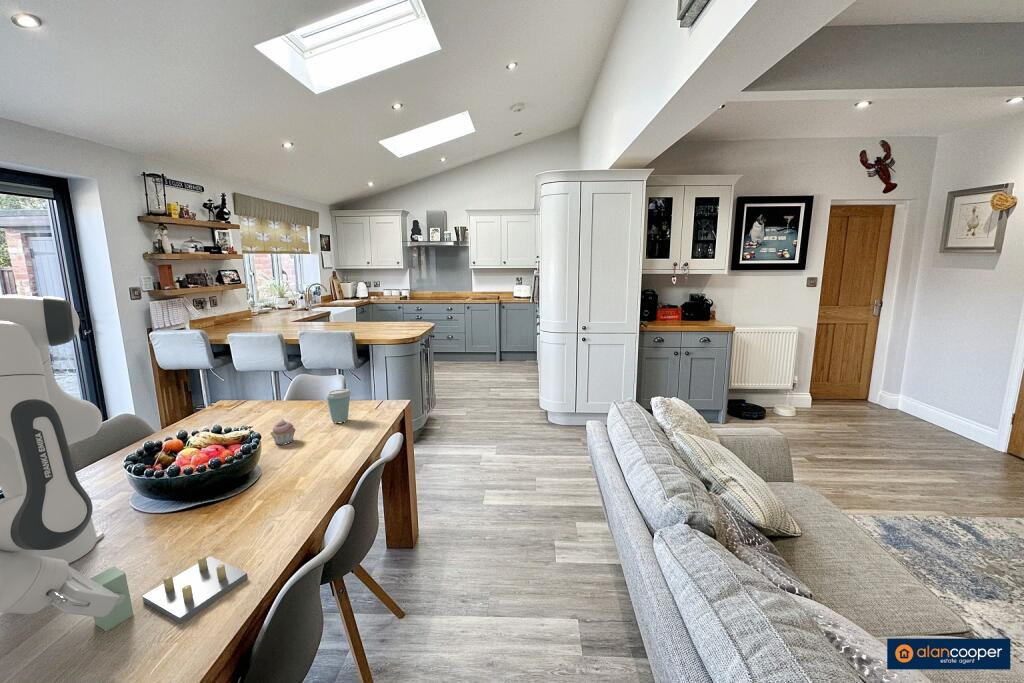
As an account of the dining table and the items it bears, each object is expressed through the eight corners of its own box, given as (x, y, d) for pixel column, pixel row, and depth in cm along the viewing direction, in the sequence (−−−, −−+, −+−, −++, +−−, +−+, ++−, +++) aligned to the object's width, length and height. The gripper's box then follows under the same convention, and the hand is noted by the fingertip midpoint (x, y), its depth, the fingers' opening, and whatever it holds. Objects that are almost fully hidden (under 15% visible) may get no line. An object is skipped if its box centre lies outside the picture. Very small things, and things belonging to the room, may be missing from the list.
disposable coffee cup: (323, 422, 197) (320, 391, 194) (344, 415, 206) (341, 385, 203) (337, 427, 191) (334, 395, 188) (357, 420, 200) (355, 389, 197)
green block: (95, 623, 87) (85, 580, 85) (122, 607, 91) (114, 566, 89) (106, 631, 85) (97, 587, 83) (133, 614, 89) (125, 572, 87)
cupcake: (302, 438, 179) (299, 415, 178) (286, 447, 170) (284, 424, 169) (282, 436, 181) (279, 414, 179) (266, 446, 172) (263, 422, 170)
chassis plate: (143, 602, 92) (139, 583, 92) (211, 561, 105) (208, 545, 104) (181, 624, 87) (177, 604, 86) (247, 578, 99) (245, 561, 98)
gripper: (78, 583, 74) (152, 593, 85) (27, 551, 83) (100, 563, 93) (48, 624, 71) (129, 629, 82) (-2, 587, 80) (77, 595, 90)
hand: (113, 594), depth 88 cm, fingers closed on green block, 4 cm apart
